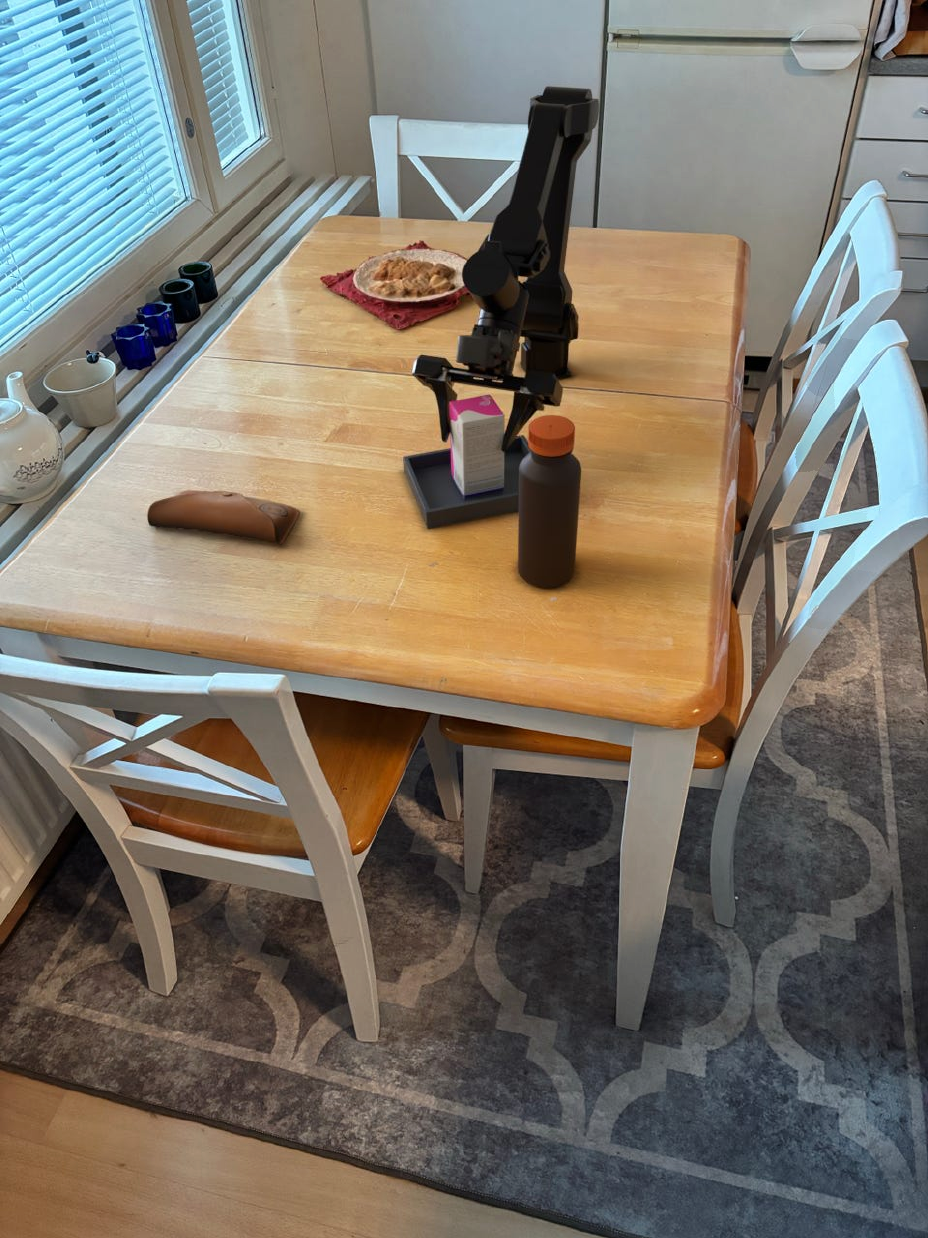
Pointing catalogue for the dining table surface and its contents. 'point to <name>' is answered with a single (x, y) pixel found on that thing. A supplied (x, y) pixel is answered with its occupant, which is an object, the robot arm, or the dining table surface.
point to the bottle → (548, 503)
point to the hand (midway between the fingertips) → (473, 446)
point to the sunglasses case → (225, 515)
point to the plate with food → (404, 284)
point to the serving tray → (442, 495)
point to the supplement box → (477, 446)
